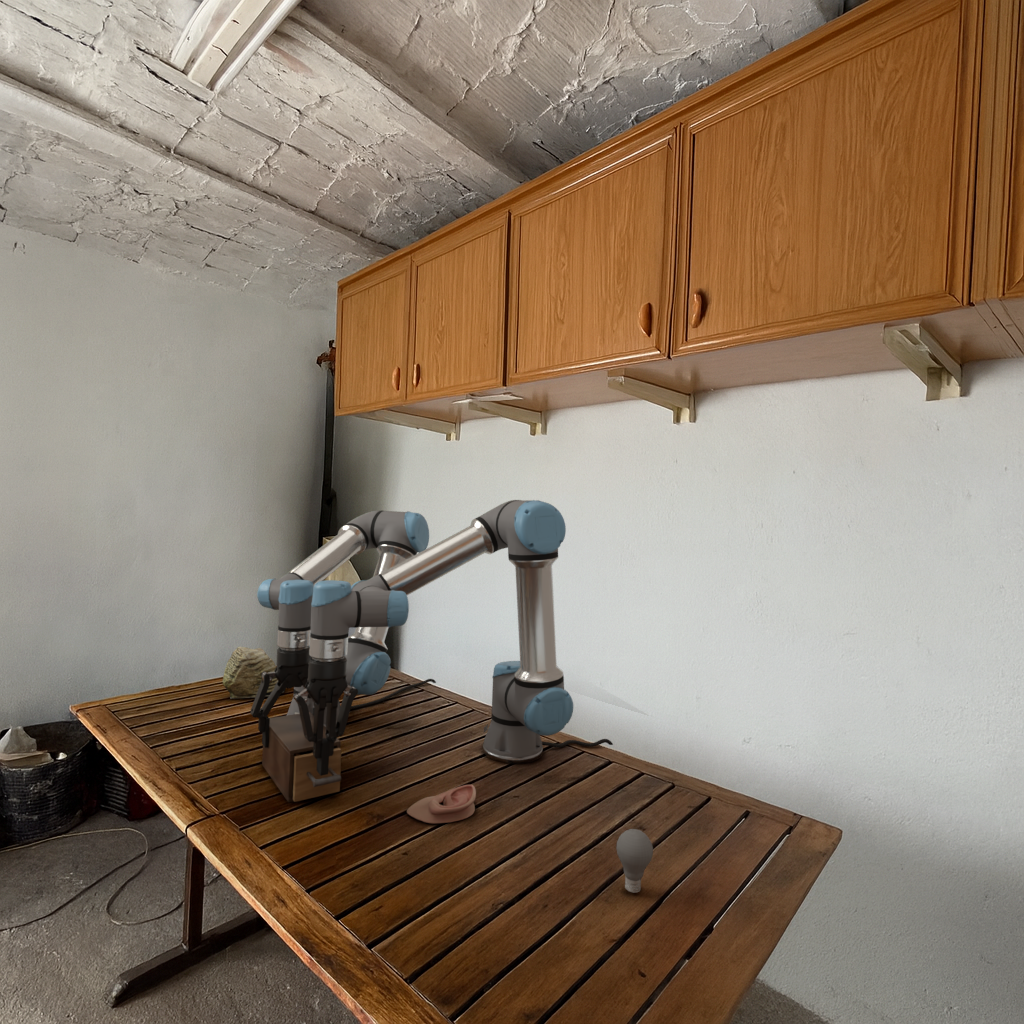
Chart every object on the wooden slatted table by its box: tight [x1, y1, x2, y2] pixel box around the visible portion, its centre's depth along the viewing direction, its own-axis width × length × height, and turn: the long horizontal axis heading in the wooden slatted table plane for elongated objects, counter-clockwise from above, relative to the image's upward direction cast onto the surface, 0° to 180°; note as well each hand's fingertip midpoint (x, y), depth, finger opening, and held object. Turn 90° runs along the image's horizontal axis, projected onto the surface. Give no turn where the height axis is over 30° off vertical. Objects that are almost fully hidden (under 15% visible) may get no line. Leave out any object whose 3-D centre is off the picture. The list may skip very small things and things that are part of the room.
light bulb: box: [615, 828, 654, 894], centre depth 106 cm, size 6×6×10 cm
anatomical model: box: [406, 784, 477, 824], centre depth 130 cm, size 13×4×12 cm
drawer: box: [292, 747, 342, 803], centre depth 138 cm, size 26×10×9 cm, turn 35°
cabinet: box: [261, 712, 342, 804], centre depth 142 cm, size 21×11×11 cm, turn 35°
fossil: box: [222, 646, 287, 699], centre depth 198 cm, size 9×18×15 cm, turn 132°
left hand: (290, 740), depth 148 cm, fingers closed on cabinet, 11 cm apart
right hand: (322, 772), depth 129 cm, fingers closed
